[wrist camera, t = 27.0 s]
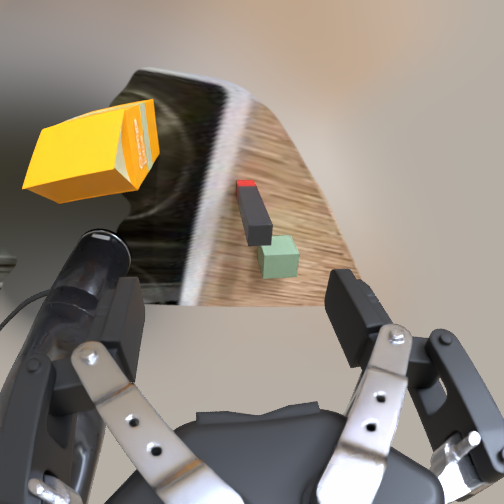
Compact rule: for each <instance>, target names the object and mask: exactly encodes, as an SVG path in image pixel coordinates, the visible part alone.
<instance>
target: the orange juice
mask: <svg viewBox="0 0 504 504" xmlns="http://www.w3.org/2000/svg"><path fill="white" fill-rule="evenodd" d="M159 153H160V152H159V144H158V136H157V128H156V120H155V111H154V102H153V99H150V100H145V101H139V102H134V103H128V104H123V105H118V106H114V107H109V108H105V109H101V110H96V111H92V112H89V113H86V114H84V115H81V116H78V117H75V118H72V119H69V120H67V121H65V122H63V123H60V124H58V125H55V126H52V127H49V128H45V129H43V130H42V131H41V134H40V137H39V139H38V142H37V145H36V148H35V151H34V153H33V156H32V159H31V162H30V165H29V168H28V171H27V174H26V178H25V181H24V185H23V189H24V188H25V189H28V190H30V191H32V192H34V193H37V194H39V195H41V196H44V197H46V198H48V199H50V200H53V201H55V202H57V203H58V204H61V203H66V202H71V201H76V200H82V199H87V198H93V197H98V196H105V195H111V194H117V193H123V192H129V191H136V190H138V189H139V187H140V185H141V184H142V182H143V180H144V178H145V177H146V175H147V173H148V172H149V171H150V169H151V167H152V166H153V163H154V162H155V160H156V158H157V157H158V155H159Z"/></svg>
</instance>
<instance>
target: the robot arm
mask: <svg viewBox="0 0 504 504" xmlns="http://www.w3.org/2000/svg"><path fill="white" fill-rule="evenodd" d="M131 260H132V257H131V252H130V249H129V247H128V245H127V243H126V242H125V241H124V240H123V238H121V237H120V236H119V235H118V234H116V233H114V232H112V231H110V230H107V229H93V230H90V231H88V232H86V233H85V234H84V235H82V237H81V238H80V240H79V241H78V243H77V246H76V247H75V249H74V250H73V252H72V253H71V255H70V256H69V258H68V260H67V261H66V263H65V265H64V266H63V268H62V270H61V272H60V273H59V275H58V277H57V279H56V281H55V282H54V284H53V286H52V287H51V289H50V290H46V291H43V292H40V293H38V294H36V295H34V296H32V297H30V298H28V299H27V300H25V301H24V302H23V303H22V304H20V305H19V306H18V307H17V308H16V309H15V310H14V311H13V312H12V313H11V314H10V315H9V316H8V317H7V318H6V319H5V320H4V322H2V323H1V325H0V331H1V330H2V328H3V327H4V326H5V325H6V324H7V323H8V322H9V321H10V320H11V319H12V318H13V317H14V316H15V315H16V314H17V313H18V312H19V311H20V310H21V309H22V308H24V307H25V306H26V305H27V304H29V303H31V302H33V301H35V300H37V299H39V298H42V297H44V296H47V297H46V299H45V301H44V302H43V304H42V306H41V308H40V310H39V312H38V314H37V316H36V318H35V321H34V323H33V325H32V327H31V329H30V332H29V334H28V336H27V339H26V340H25V342H24V345H23V347H22V349H21V351H20V353H19V354H18V356H17V358H16V360H15V362H14V364H13V366H12V368H11V370H10V372H9V374H8V377H7V378H6V381H5V383H4V385H3V388H2V390H1V392H0V504H88V501H89V497H90V492H91V488H92V484H93V480H94V476H95V472H96V468H97V464H98V460H99V456H100V452H101V448H102V444H103V439H104V434H105V428H106V425H107V427H108V428H109V430H110V431H111V433H112V434H113V436H114V437H115V439H116V440H117V442H118V443H119V445H120V446H121V447H122V449H123V450H124V452H125V453H126V455H127V456H128V457H129V459H130V460H131V462H132V463H133V464H134V465H135V467H136V468H137V469H136V471H135V472H134V473H133V474H132V475H131V476H130V477H129V478H128V479H127V480H126V481H125V482H124V483H123V485H121V487H120V488H119V489H118V490H117V491H116V492H115V493H114V494H113V495H112V496H111V497H110V498H109V499H108V500H107V501H106V502H105V503H104V504H449V503H452V502H454V501H458V502H461V501H465V500H467V499H469V498H471V497H472V496H474V495H476V494H477V493H479V492H481V491H482V490H484V489H486V488H487V487H489V486H491V485H492V484H494V483H495V482H497V481H498V480H500V479H501V478H503V477H504V419H503V417H502V415H501V413H500V411H499V409H498V407H497V405H496V403H495V402H494V400H493V398H492V396H491V394H490V392H489V391H488V389H487V387H486V385H485V383H484V382H483V380H482V378H481V376H480V375H479V373H478V371H477V370H476V368H475V366H474V365H473V363H472V361H471V360H470V358H469V356H468V355H467V353H466V352H465V350H464V348H463V347H462V345H461V343H460V342H459V340H458V339H457V337H456V336H455V335H454V334H453V333H451V332H450V331H447V330H445V329H436V330H434V331H432V333H431V334H430V336H429V338H422V337H413V336H412V335H411V333H410V332H409V331H408V330H407V329H406V328H404V327H403V326H401V325H398V324H393V322H392V321H391V319H390V318H389V316H388V314H387V313H386V311H385V310H384V308H383V306H382V305H381V303H380V302H379V300H378V299H377V297H376V296H375V294H374V293H373V291H372V290H371V288H370V286H368V285H367V284H366V283H365V282H363V281H362V280H361V279H358V280H357V279H356V278H355V276H354V275H353V273H352V271H351V270H350V269H334V270H332V271H331V273H330V277H329V281H328V286H327V290H326V295H325V310H326V313H327V315H328V317H329V319H330V322H331V324H332V326H333V328H334V331H335V333H336V335H337V337H338V340H339V342H340V344H341V347H342V349H343V351H344V354H345V356H346V358H347V361H348V363H349V365H350V368H354V367H361V369H362V372H361V374H360V377H359V379H358V382H357V384H356V387H355V389H354V392H353V394H352V397H351V399H350V402H349V404H348V406H347V409H346V411H345V413H344V415H341V414H339V413H336V412H333V411H329V410H323V409H320V408H319V405H318V402H317V401H316V402H310V403H302V404H296V405H288V406H286V407H283V408H280V409H277V410H275V411H272V412H269V413H266V414H263V415H250V414H242V413H236V412H229V411H220V412H197V413H196V421H192V422H189V423H187V424H184V425H182V426H180V427H178V428H176V429H175V430H172V429H171V428H170V427H169V426H168V425H167V424H166V422H165V421H164V420H163V419H162V418H161V416H160V415H159V414H158V413H157V412H156V410H155V409H154V408H153V407H152V406H151V404H150V403H149V402H148V401H147V399H146V398H145V397H144V395H143V394H142V393H141V392H140V390H139V389H138V388H137V387H136V385H135V384H134V383H130V382H135V378H136V371H137V364H138V358H139V351H140V345H141V338H142V333H143V327H144V322H145V307H144V302H143V297H142V293H141V288H140V283H139V279H138V277H126V276H127V273H128V271H129V268H130V265H131ZM439 378H441V380H442V381H443V383H444V385H445V387H446V390H447V396H446V394H445V392H444V389H443V387H442V385H441V384H440V382H439ZM407 388H408V391H409V393H410V395H411V398H412V400H413V402H414V405H415V407H416V409H417V412H418V414H419V417H420V419H421V421H422V424H423V426H424V429H425V431H426V434H427V436H428V439H429V442H430V444H431V447H432V449H433V452H434V453H433V454H432V457H431V467H430V470H428V469H427V468H425V467H423V466H422V465H420V464H418V463H417V462H415V461H413V460H412V459H410V458H409V457H407V456H405V455H404V454H402V453H401V452H399V451H397V450H396V449H394V448H393V447H391V443H392V440H393V437H394V433H395V430H396V427H397V423H398V419H399V416H400V412H401V409H402V405H403V401H404V397H405V393H406V389H407Z"/></svg>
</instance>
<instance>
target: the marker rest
mask: <svg viewBox="0 0 504 504" xmlns="http://www.w3.org/2000/svg"><path fill="white" fill-rule="evenodd" d="M257 259H258V262H259V266H260V270H261V273H262V277H263V279H271V278H287V277H297V270H298V262H299V252H298V250H297V248H296V246H295V244H294V241H293V239H292V237H291V235H281V236H272V242H271V245H269V246H258V258H257Z"/></svg>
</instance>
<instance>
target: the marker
mask: <svg viewBox="0 0 504 504" xmlns="http://www.w3.org/2000/svg"><path fill="white" fill-rule="evenodd" d="M236 196H237V201H238V205H239V209H240V214H241V218H242V222H243V226H244V230H245V235H246V239H247V243H248V246H269V245H271V242H272V228H273V224H272V222H271V220H270V217H269V215H268V212H267V210H266V208H265V205H264V203H263V201H262V198H261V196H260V194H259V191H258V189H257V186H256V184H255V182H254V180H237V190H236Z"/></svg>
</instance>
